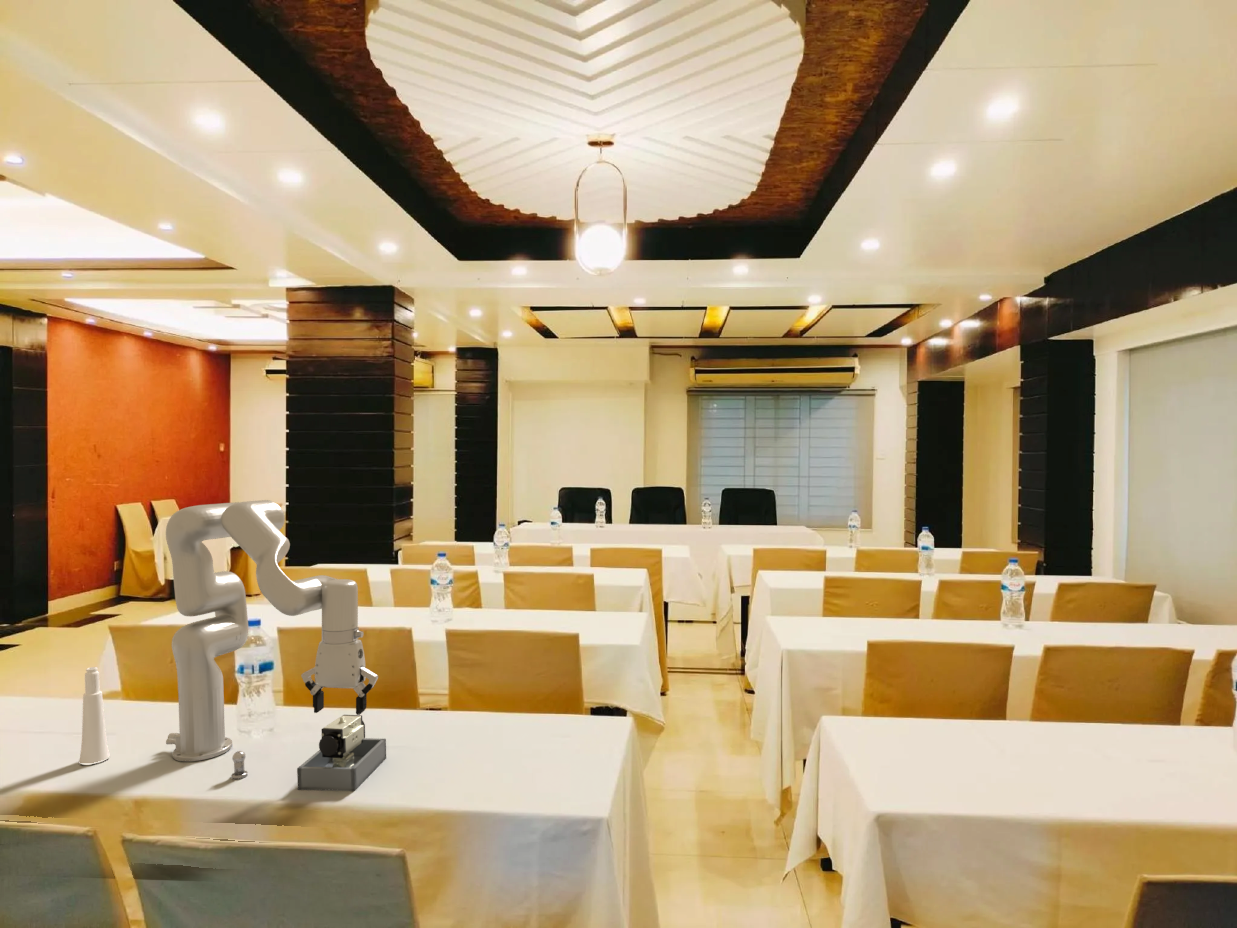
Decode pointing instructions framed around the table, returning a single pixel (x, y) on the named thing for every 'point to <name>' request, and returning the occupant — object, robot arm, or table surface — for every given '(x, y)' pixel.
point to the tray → (342, 768)
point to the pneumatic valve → (342, 739)
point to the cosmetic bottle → (93, 721)
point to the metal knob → (239, 765)
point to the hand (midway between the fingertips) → (339, 711)
